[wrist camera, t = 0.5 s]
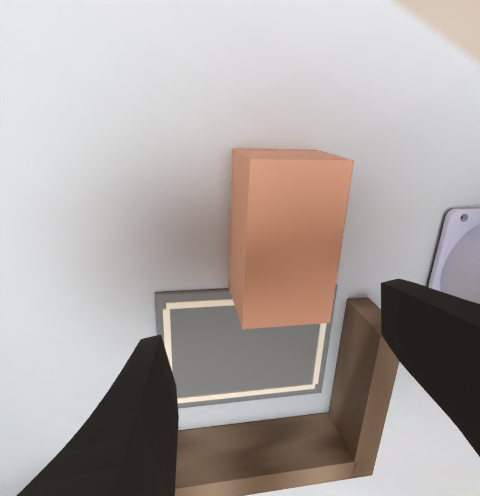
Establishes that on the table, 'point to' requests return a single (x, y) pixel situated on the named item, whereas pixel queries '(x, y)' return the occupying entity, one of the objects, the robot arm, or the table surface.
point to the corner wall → (302, 427)
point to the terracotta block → (286, 234)
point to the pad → (236, 351)
